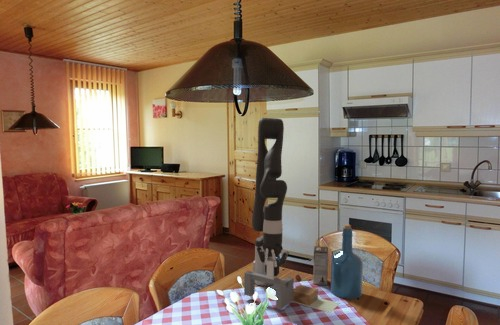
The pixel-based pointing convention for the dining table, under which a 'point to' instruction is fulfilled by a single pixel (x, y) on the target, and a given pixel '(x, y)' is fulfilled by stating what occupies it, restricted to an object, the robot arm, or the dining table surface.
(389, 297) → the dining table surface
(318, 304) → the sage mat
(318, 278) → the coffee box
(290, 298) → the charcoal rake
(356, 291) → the wine bottle
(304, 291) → the walnut block
